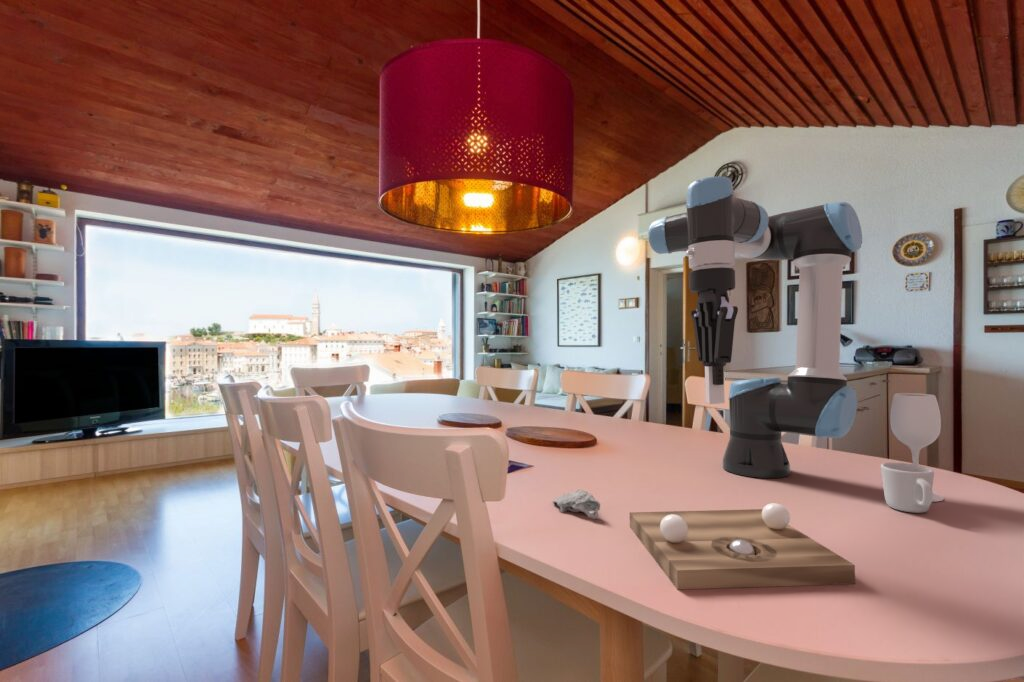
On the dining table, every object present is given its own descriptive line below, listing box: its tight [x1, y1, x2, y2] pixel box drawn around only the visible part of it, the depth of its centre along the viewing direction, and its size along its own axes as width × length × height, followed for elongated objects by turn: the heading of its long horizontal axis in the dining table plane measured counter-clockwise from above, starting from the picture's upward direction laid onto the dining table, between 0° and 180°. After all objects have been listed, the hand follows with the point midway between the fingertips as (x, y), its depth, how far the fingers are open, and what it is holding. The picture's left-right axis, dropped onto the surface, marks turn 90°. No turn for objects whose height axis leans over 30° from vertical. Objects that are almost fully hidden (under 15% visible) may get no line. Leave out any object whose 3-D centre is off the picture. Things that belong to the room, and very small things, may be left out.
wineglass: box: [889, 392, 945, 503], centre depth 102 cm, size 9×9×21 cm
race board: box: [629, 508, 856, 590], centre depth 75 cm, size 22×24×2 cm
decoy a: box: [762, 502, 791, 530], centre depth 78 cm, size 4×4×4 cm
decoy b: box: [660, 514, 688, 543], centre depth 73 cm, size 4×4×4 cm
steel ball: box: [729, 539, 755, 555], centre depth 71 cm, size 4×4×4 cm
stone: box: [552, 489, 601, 520], centre depth 94 cm, size 6×12×4 cm, turn 13°
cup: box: [880, 462, 935, 514], centre depth 92 cm, size 11×8×8 cm
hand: (715, 402), depth 86 cm, fingers closed
